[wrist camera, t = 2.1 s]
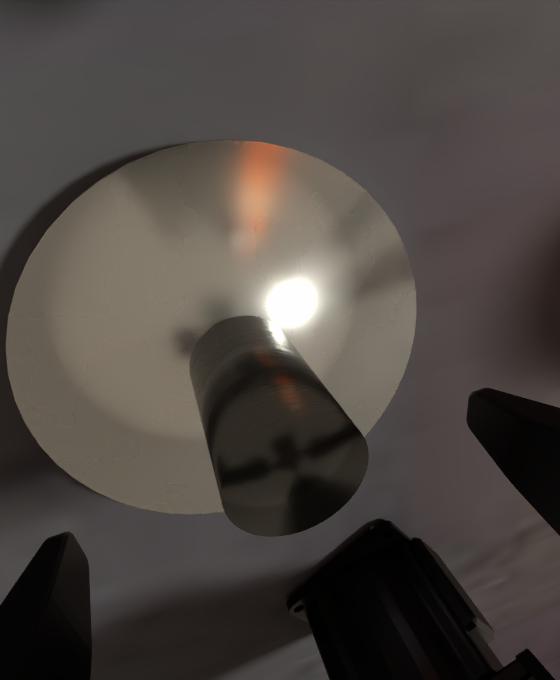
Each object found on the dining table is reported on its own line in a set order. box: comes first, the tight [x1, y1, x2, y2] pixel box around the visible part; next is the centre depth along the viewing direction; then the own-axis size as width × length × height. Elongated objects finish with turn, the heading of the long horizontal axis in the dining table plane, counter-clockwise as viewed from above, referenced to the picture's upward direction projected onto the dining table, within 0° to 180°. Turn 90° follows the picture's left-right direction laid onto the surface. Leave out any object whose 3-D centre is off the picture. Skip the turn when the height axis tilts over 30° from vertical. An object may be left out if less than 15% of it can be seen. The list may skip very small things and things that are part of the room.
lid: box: [6, 140, 416, 537], centre depth 11 cm, size 12×12×6 cm
